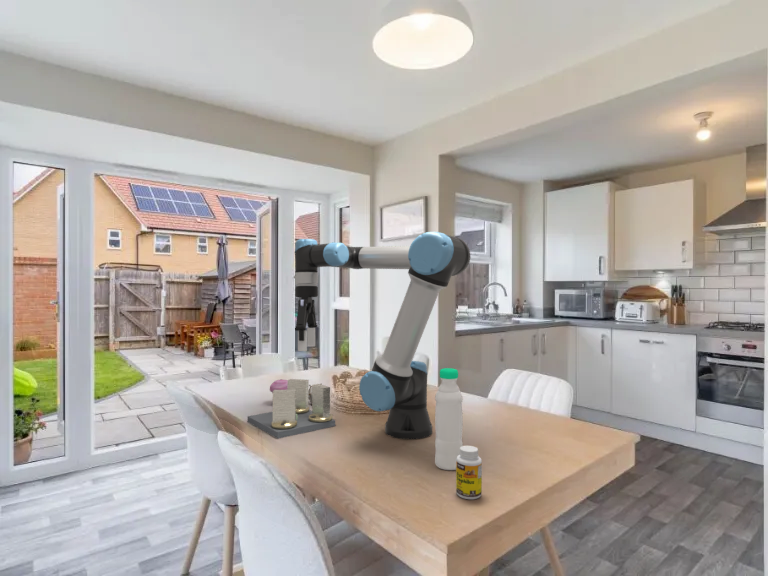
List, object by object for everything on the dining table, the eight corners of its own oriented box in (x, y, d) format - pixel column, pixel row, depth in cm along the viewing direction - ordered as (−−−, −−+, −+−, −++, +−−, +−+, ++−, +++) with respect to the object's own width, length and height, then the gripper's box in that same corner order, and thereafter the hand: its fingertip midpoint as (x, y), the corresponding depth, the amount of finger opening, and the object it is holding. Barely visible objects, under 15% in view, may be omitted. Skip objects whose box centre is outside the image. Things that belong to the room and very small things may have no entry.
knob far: (312, 408, 162) (312, 378, 162) (304, 414, 154) (304, 382, 155) (291, 407, 164) (292, 377, 164) (282, 412, 156) (283, 381, 156)
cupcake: (272, 407, 172) (272, 382, 172) (267, 403, 180) (267, 378, 180) (295, 405, 176) (295, 380, 176) (289, 400, 184) (289, 376, 184)
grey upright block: (337, 419, 149) (337, 386, 149) (316, 423, 143) (317, 389, 144) (324, 414, 155) (324, 382, 155) (304, 418, 150) (304, 385, 150)
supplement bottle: (451, 496, 97) (451, 449, 97) (462, 487, 102) (462, 442, 102) (475, 503, 94) (475, 454, 94) (485, 493, 98) (485, 447, 99)
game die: (319, 414, 177) (325, 397, 171) (300, 406, 177) (305, 389, 172) (327, 398, 184) (332, 382, 179) (308, 391, 185) (313, 374, 179)
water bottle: (429, 465, 114) (429, 368, 115) (446, 458, 119) (446, 365, 120) (451, 473, 109) (451, 372, 110) (468, 466, 114) (468, 369, 115)
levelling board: (335, 425, 149) (335, 414, 149) (277, 438, 135) (277, 425, 135) (301, 411, 166) (301, 401, 166) (247, 421, 153) (247, 410, 153)
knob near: (298, 421, 146) (298, 387, 146) (295, 428, 138) (295, 393, 138) (273, 421, 145) (273, 388, 145) (269, 429, 137) (269, 393, 137)
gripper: (303, 286, 162) (304, 344, 161) (285, 284, 137) (286, 353, 136) (324, 286, 161) (324, 344, 161) (309, 284, 137) (310, 353, 136)
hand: (307, 348), depth 149 cm, fingers open, 13 cm apart
